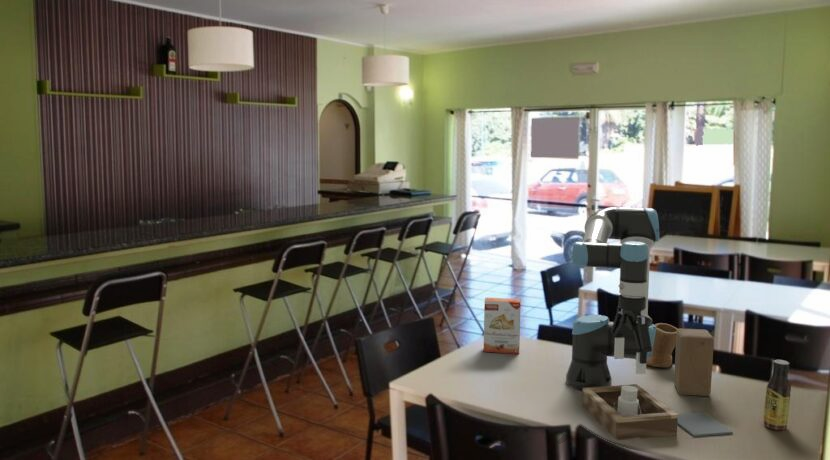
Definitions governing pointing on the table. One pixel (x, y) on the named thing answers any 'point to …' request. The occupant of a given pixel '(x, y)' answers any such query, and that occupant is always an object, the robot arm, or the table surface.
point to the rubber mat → (701, 424)
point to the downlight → (628, 401)
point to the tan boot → (663, 345)
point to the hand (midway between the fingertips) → (629, 365)
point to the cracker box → (502, 325)
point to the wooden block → (693, 362)
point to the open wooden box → (629, 426)
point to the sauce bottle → (777, 397)
